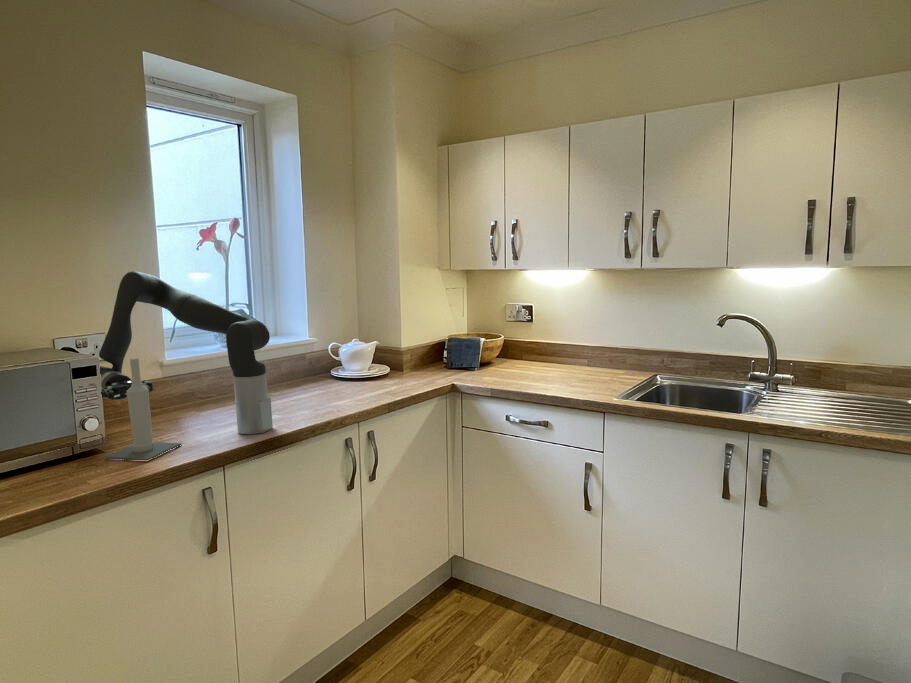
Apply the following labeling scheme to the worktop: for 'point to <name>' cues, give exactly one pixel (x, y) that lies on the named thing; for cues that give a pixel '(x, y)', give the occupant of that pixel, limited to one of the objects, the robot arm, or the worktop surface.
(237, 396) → the robot arm
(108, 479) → the worktop surface
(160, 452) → the charcoal mat
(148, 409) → the bottle
